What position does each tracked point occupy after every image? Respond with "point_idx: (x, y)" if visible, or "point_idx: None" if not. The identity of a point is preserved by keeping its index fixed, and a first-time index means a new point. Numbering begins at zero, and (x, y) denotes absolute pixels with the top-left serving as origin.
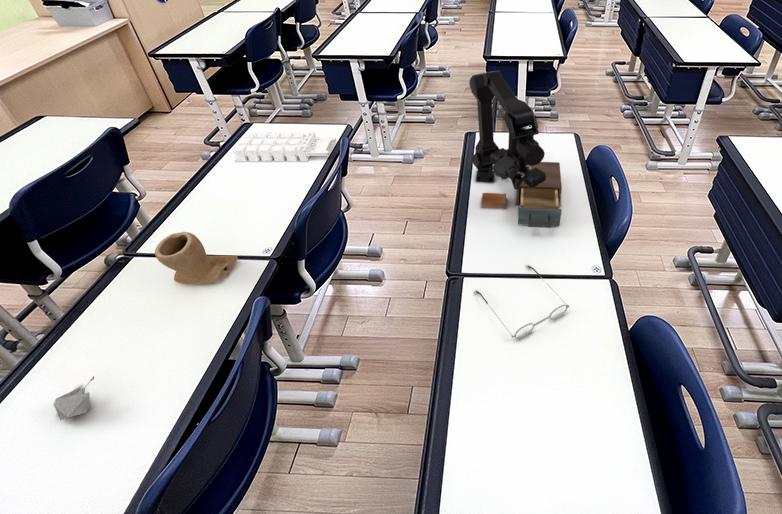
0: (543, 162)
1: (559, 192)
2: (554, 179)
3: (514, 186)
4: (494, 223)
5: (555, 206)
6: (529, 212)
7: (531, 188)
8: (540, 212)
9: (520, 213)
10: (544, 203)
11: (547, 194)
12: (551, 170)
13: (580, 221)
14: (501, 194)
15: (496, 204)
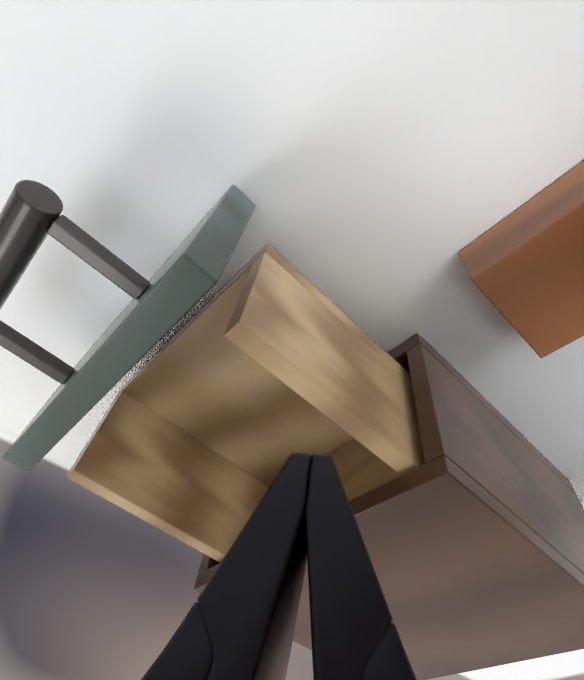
0: (462, 669)
1: None
2: None
3: (313, 497)
4: (407, 34)
5: (129, 461)
6: (132, 308)
7: None
8: (81, 366)
9: (185, 246)
10: (267, 437)
11: None
12: None
13: (86, 442)
14: (571, 330)
15: (540, 218)
